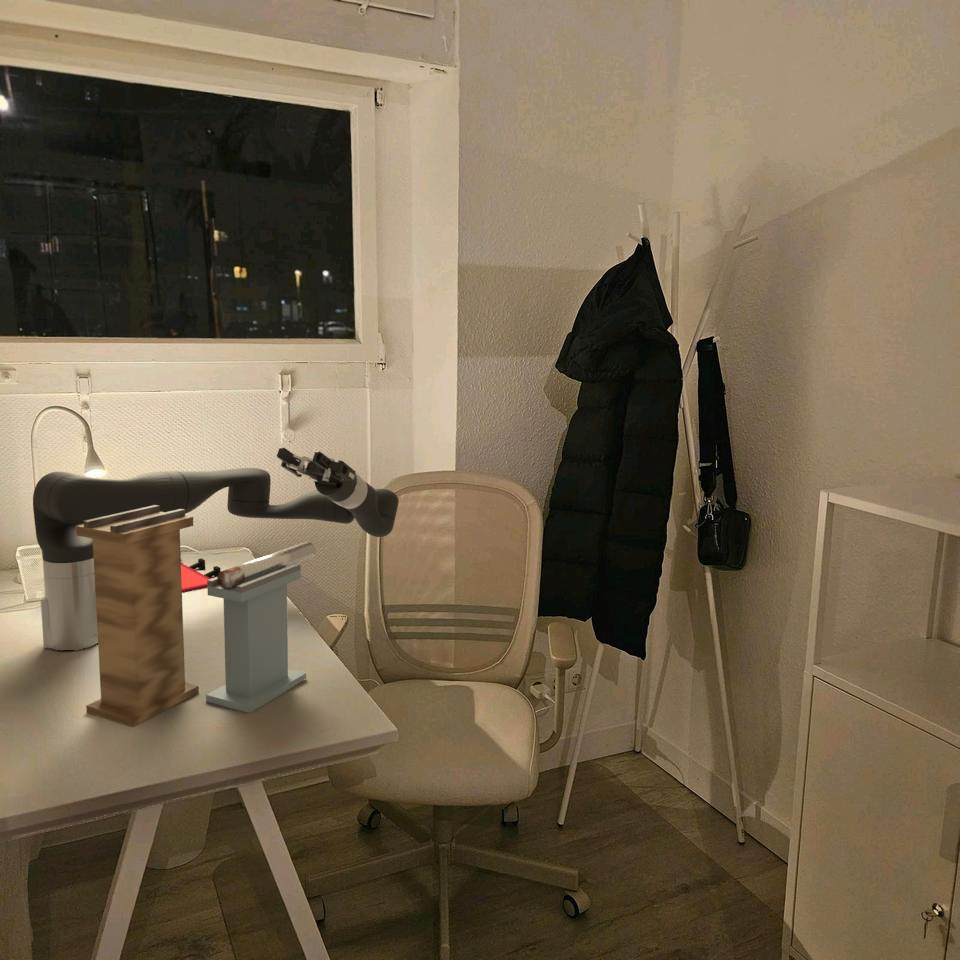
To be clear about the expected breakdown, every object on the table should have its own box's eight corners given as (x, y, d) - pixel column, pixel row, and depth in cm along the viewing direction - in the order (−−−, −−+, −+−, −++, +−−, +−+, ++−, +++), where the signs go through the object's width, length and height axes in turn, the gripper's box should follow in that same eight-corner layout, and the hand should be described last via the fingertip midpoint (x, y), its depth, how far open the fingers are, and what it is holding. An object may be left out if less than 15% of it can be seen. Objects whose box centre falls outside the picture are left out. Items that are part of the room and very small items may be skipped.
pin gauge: (232, 591, 131) (232, 572, 130) (217, 587, 132) (217, 569, 132) (315, 558, 151) (315, 542, 150) (301, 556, 152) (302, 540, 151)
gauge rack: (249, 713, 133) (246, 587, 129) (206, 701, 137) (202, 579, 133) (306, 679, 146) (305, 565, 143) (265, 669, 150) (263, 557, 146)
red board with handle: (179, 556, 222) (122, 567, 212) (178, 546, 221) (121, 556, 211) (232, 584, 201) (172, 598, 190) (232, 573, 200) (171, 586, 190)
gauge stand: (132, 726, 127) (123, 527, 122) (86, 712, 132) (75, 519, 126) (198, 692, 140) (192, 510, 134) (154, 680, 144) (147, 503, 139)
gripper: (319, 465, 174) (274, 432, 160) (376, 472, 167) (334, 438, 154) (308, 498, 171) (261, 468, 158) (365, 506, 165) (321, 475, 151)
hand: (297, 453), depth 156 cm, fingers open, 8 cm apart
